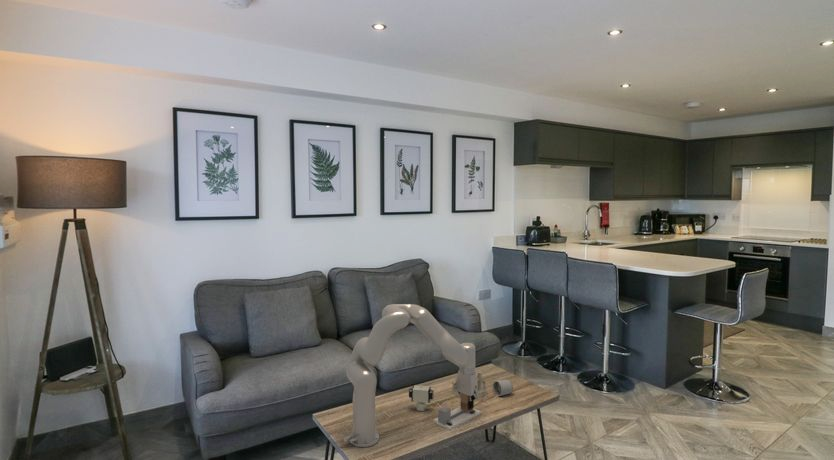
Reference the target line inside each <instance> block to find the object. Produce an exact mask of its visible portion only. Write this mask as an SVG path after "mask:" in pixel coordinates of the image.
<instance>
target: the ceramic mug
mask: <svg viewBox="0 0 834 460" xmlns="http://www.w3.org/2000/svg"><path fill="white" fill-rule="evenodd" d="M513 389H514V386H513V382H511V380H509V379H501V380H499V379H498V380H495V381H493V384H492V390H493V392H494V394H495V396H496V397H502V396H505V395H510V394H511V393H513Z"/></svg>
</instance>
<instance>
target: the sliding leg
mask: <svg viewBox="0 0 834 460" xmlns="http://www.w3.org/2000/svg"><path fill="white" fill-rule="evenodd" d="M471 397H472V396H471ZM468 401H469V396H468V395H466V394H463V393H461V398H460V406H461V409H462V410H464V411H466V412H468V411H469V410H471V411H474V412H475V410H474V409H475V408H474V407H473V408H474V409H473V408H471V409H468Z"/></svg>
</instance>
